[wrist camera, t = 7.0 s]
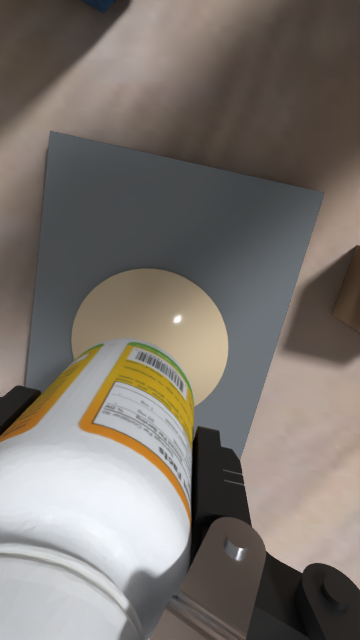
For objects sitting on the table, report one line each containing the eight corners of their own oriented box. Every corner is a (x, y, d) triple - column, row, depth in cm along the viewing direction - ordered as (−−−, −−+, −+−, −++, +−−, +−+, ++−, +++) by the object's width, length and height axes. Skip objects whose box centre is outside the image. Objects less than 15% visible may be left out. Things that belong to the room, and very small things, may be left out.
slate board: (58, 136, 17) (47, 129, 16) (317, 194, 17) (326, 191, 16) (25, 452, 23) (15, 465, 22) (223, 496, 23) (224, 512, 22)
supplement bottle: (75, 454, 15) (-150, 858, 5) (56, 337, 13) (-298, 600, 4) (198, 452, 14) (195, 885, 5) (191, 331, 13) (168, 608, 3)
